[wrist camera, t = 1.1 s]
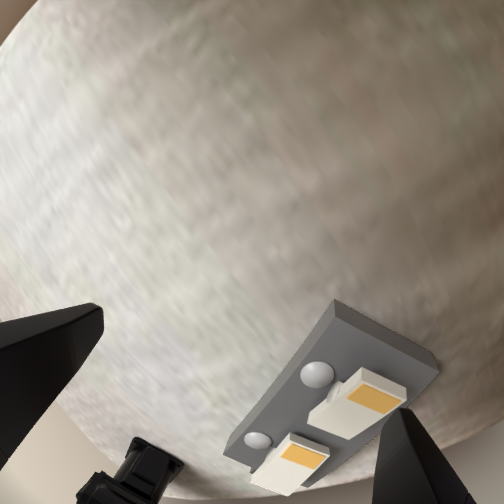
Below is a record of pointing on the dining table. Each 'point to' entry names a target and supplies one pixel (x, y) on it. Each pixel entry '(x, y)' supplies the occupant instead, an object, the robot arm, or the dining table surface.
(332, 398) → the right rocker
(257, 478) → the left rocker
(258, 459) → the switch panel
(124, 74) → the dining table surface
